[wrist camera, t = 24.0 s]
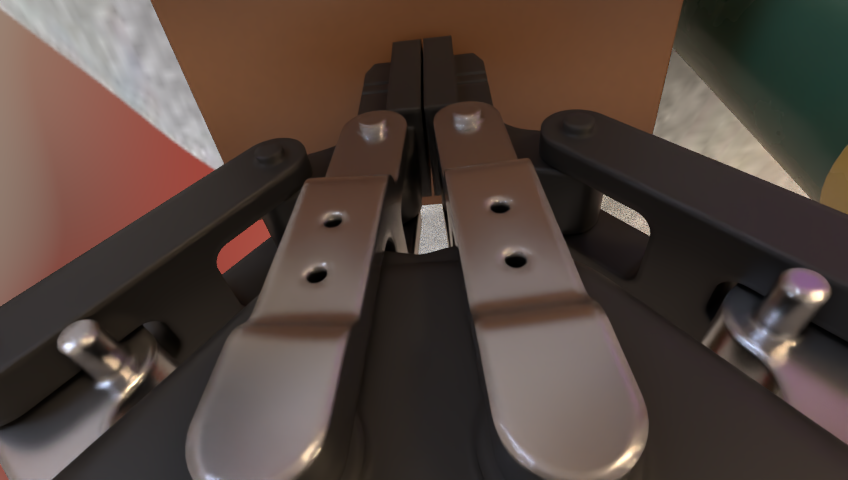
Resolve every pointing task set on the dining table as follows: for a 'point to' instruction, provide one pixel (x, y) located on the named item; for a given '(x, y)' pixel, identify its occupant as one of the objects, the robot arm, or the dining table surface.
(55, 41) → the dining table surface
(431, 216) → the dining table surface
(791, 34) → the tea tin
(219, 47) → the chest lid
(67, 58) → the dining table surface
